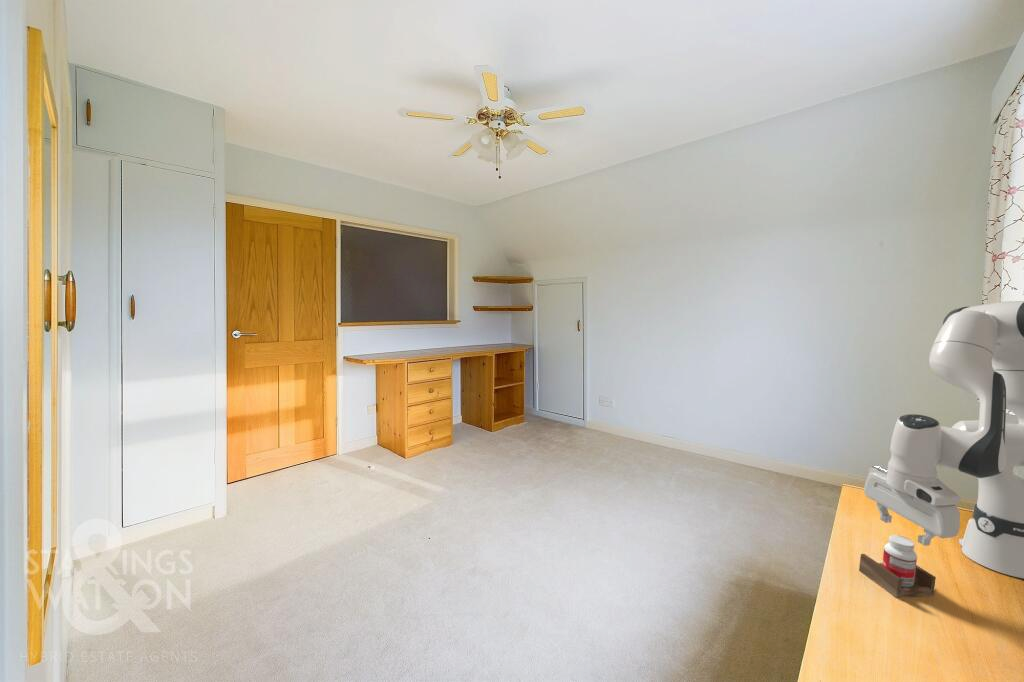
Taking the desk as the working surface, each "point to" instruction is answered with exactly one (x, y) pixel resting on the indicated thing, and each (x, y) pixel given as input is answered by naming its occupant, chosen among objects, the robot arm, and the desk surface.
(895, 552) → the pill bottle
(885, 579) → the cradle
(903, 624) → the desk surface
